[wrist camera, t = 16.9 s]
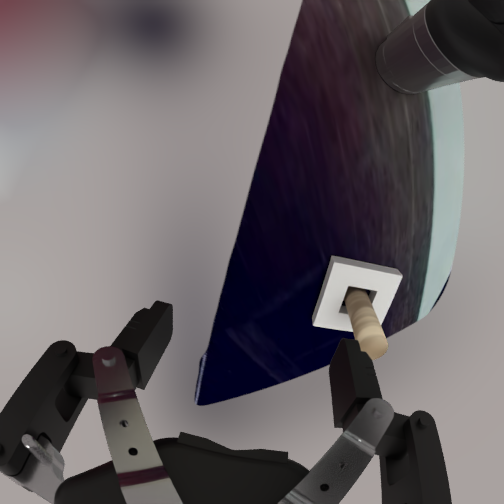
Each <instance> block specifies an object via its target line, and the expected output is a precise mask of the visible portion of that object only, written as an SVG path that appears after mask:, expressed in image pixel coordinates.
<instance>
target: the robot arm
mask: <svg viewBox="0 0 504 504" xmlns="http://www.w3.org/2000/svg"><path fill="white" fill-rule="evenodd" d="M375 60H376V66H377V69H378V72H379V74H380V75H381V77H382V78H383V80H384V81H385V82H386V83H387V84H388V85H389V86H390V87H392V88H393V89H395V90H396V91H399V92H401V93H404V94H417V93H420V92H424V91H428V90H431V89H435V88H439V87H443V86H446V85H450V84H454V83H459V82H463V81H467V80H472V79H476V78H481V77H487V78H489V79H492V80H495V81H500V82H504V0H431V1H430V2H429V3H428V4H426V5H425V6H424V7H423V8H422V9H421V10H419V11H418V12H417V13H416V14H415V15H414V16H408V17H407V18H406V19H405V20H404V21H403V22H402V23H401V24H400V25H399V26H397V27H396V28H395V29H394V30H393V31H392V32H391V33H390V34H389V35H388V36H387V40H386V41H384V42H383V43H382V44H381V45H380V47H379V48H378V49H377V52H376V57H375ZM172 331H173V307H172V304H169V303H164V302H161V301H155V303H154V304H153V305H152V307H151V308H150V309H147V308H143V309H142V310H140V311H138V312H136V313H135V314H134V316H133V317H132V318H131V320H130V321H129V322H128V324H127V325H126V327H125V328H124V329H123V330H122V332H121V333H120V334H119V335H118V337H117V338H116V339H115V341H114V342H113V343H112V345H111V346H108V347H107V346H106V347H102V348H100V349H98V350H97V351H96V352H95V353H85V352H77V351H76V348H75V346H74V345H73V344H72V343H71V342H69V341H57V342H55V343H53V344H52V345H50V347H49V348H48V349H47V350H46V352H45V353H44V354H43V355H42V357H41V358H40V359H39V361H38V362H37V363H36V364H35V365H34V367H33V368H32V369H31V371H30V372H29V374H28V375H27V376H26V377H25V379H24V380H23V381H22V383H21V384H20V386H19V387H18V388H17V390H16V391H15V393H14V394H13V395H12V397H11V398H10V400H9V401H8V403H7V404H6V406H5V407H4V409H3V410H2V412H1V413H0V471H1V472H2V473H3V474H4V475H5V476H7V477H8V478H9V479H11V480H12V481H14V482H15V483H16V484H18V485H21V486H22V487H24V488H25V489H27V490H28V491H31V492H35V493H36V494H37V495H39V496H41V497H42V498H44V499H45V500H47V501H49V502H50V503H52V504H339V502H340V501H341V500H342V499H343V498H344V496H345V495H346V494H347V492H348V491H349V490H350V488H351V487H352V486H353V485H354V483H355V482H356V481H357V479H358V478H359V476H360V475H361V474H362V472H363V471H364V469H365V468H366V466H367V465H368V463H369V462H370V460H371V458H372V457H373V456H374V454H376V455H379V459H380V471H381V488H382V504H452V502H451V494H450V488H449V482H448V476H447V471H446V466H445V462H444V456H443V452H442V448H441V443H440V440H439V435H438V431H437V428H436V424H435V421H434V419H433V417H432V416H431V415H430V414H429V413H427V412H425V411H415V412H414V413H413V414H412V415H411V416H410V417H409V416H405V415H402V414H398V413H395V412H394V410H393V408H392V406H391V405H390V404H389V403H388V402H387V401H385V400H383V399H382V395H381V391H380V387H379V384H378V380H377V376H376V373H375V370H374V366H373V362H372V359H371V358H370V356H369V355H368V354H367V353H366V352H365V351H361V348H360V345H359V341H358V340H353V339H345V338H342V339H341V341H340V343H339V345H338V347H337V349H336V352H335V354H334V356H333V358H332V360H331V363H330V367H329V377H330V385H331V394H332V405H333V415H334V427H335V428H343V433H342V435H341V436H340V437H339V438H338V440H337V441H336V442H335V443H334V445H332V447H331V448H330V449H329V450H328V451H327V452H326V453H325V455H324V456H323V457H322V458H321V459H320V460H319V461H318V462H317V463H316V465H315V466H314V467H313V468H312V469H311V470H310V471H309V470H308V469H306V468H305V467H304V466H302V465H301V464H299V463H297V462H295V461H293V460H290V459H288V452H282V451H274V450H266V449H254V450H231V449H229V448H226V447H224V446H222V445H220V444H217V443H215V442H213V441H211V440H209V439H206V438H202V437H199V436H195V435H191V434H187V433H184V432H180V435H179V438H162V439H158V440H155V441H153V440H152V437H151V435H150V433H149V430H148V427H147V424H146V422H145V419H144V417H143V413H142V411H141V408H140V405H139V402H138V399H137V396H136V393H135V389H136V387H137V388H140V389H143V390H144V389H145V387H146V385H147V383H148V381H149V379H150V378H151V376H152V374H153V372H154V370H155V368H156V366H157V364H158V362H159V360H160V359H161V357H162V355H163V353H164V351H165V349H166V347H167V346H168V344H169V342H170V340H171V336H172ZM88 398H89V399H96V400H97V402H98V407H99V411H100V416H101V420H102V424H103V429H104V432H105V436H106V440H107V444H108V447H109V451H110V454H111V457H112V461H109V462H107V463H105V464H102V465H101V466H98V467H95V468H93V469H90V470H88V471H86V472H83V473H80V474H78V475H75V476H72V477H70V478H68V479H66V480H65V481H64V478H63V470H64V460H63V457H62V455H61V454H60V451H61V449H62V447H63V445H64V443H65V441H66V439H67V437H68V435H69V433H70V431H71V429H72V428H73V426H74V423H75V422H76V420H77V418H78V416H79V414H80V412H81V411H82V408H83V407H84V405H85V403H86V401H87V400H88Z"/></svg>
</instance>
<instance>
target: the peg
mask: <svg viewBox="0 0 504 504" xmlns="http://www.w3.org/2000/svg"><path fill="white" fill-rule="evenodd" d="M344 301H345V305H346V308H347V311H348V315H349V318H350V322H351V325H352V329H353V332H354V336H355V340H358V341H359V345H360V348H361V351H365V352H366V353H367V354H368V355H369V356H370V358H371V359H372V360H375V359H377V358H380V357H381V356H383V355H384V354H385V353H386V351H387V349H388V342H387V340H386V337H385V335H384V332H383V330H382V327H381V325H380V322H379V320H378V318H377V315H376V313H375V311H374V308H373V306H372V304H371V301H370V299H369V297H368V295H367V292H366V290H365V289H363V288H358V287H352V286H348V288H347V291H346V294H345V296H344Z"/></svg>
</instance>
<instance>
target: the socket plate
mask: <svg viewBox="0 0 504 504" xmlns="http://www.w3.org/2000/svg"><path fill="white" fill-rule="evenodd" d="M401 279H402V275H401V273H400V272H399V270H398V269H395V268H390V267H385V266H381V265H376V264H371V263H366V262H362V261H357V260H352V259H347V258H342V257H337V256H331V260H330V263H329V266H328V270H327V273H326V276H325V279H324V283H323V286H322V289H321V292H320V295H319V298H318V301H317V304H316V307H315V310H314V313H313V316H312V320H313V326H317V327H324V328H330V329H337V330H344V331H351V332H353V329H352V325H351V322H350V318H349V315H348V311H347V308H346V306H342V302H343V299H344V296H345V294H346V291H347V288H348V286H352V287H358V288H363V289H369V290H371V292H370V294H369V299H370V301H371V304H372V306H373V308H374V311H375V313H376V315H377V318H378V320H379V322H380V325H381V324H382V322H383V320H384V318H385V315H386V313H387V311H388V309H389V307H390V305H391V302H392V300H393V298H394V295H395V293H396V291H397V288H398V286H399V284H400V281H401Z"/></svg>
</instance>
